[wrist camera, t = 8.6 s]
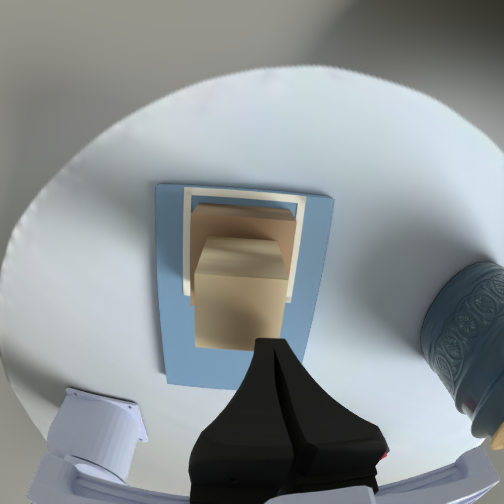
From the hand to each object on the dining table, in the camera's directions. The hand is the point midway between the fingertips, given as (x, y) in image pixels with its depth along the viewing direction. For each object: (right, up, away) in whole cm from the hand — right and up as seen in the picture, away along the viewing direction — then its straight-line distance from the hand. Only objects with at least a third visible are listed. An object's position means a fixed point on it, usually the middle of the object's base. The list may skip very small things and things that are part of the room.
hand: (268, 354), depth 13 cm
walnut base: (-2, +5, +8) cm, 9 cm away
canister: (+22, -2, +12) cm, 25 cm away
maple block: (-1, +4, +5) cm, 6 cm away
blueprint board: (-2, +1, +10) cm, 11 cm away
